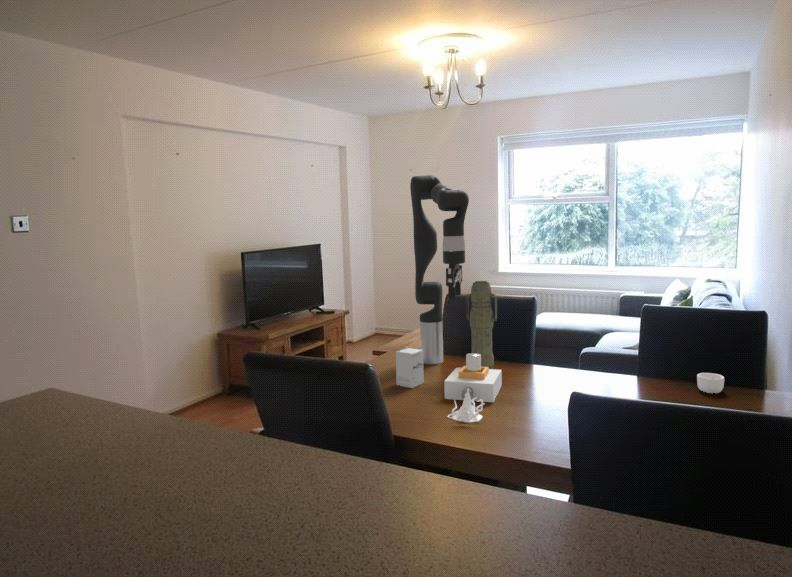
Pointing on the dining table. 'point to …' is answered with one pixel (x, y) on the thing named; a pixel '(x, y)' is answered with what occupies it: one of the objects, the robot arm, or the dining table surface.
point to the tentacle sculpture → (467, 410)
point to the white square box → (473, 384)
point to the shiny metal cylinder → (473, 362)
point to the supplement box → (409, 367)
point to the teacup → (710, 382)
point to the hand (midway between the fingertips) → (454, 296)
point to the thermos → (481, 321)
